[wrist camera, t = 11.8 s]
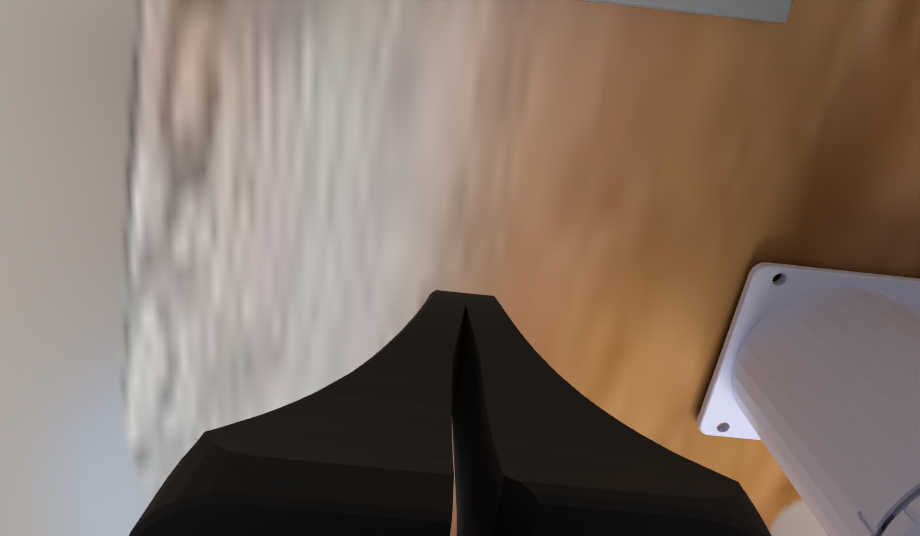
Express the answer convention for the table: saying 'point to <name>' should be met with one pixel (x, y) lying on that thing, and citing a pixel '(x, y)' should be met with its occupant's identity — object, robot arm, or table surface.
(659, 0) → the rail board
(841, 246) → the table surface
